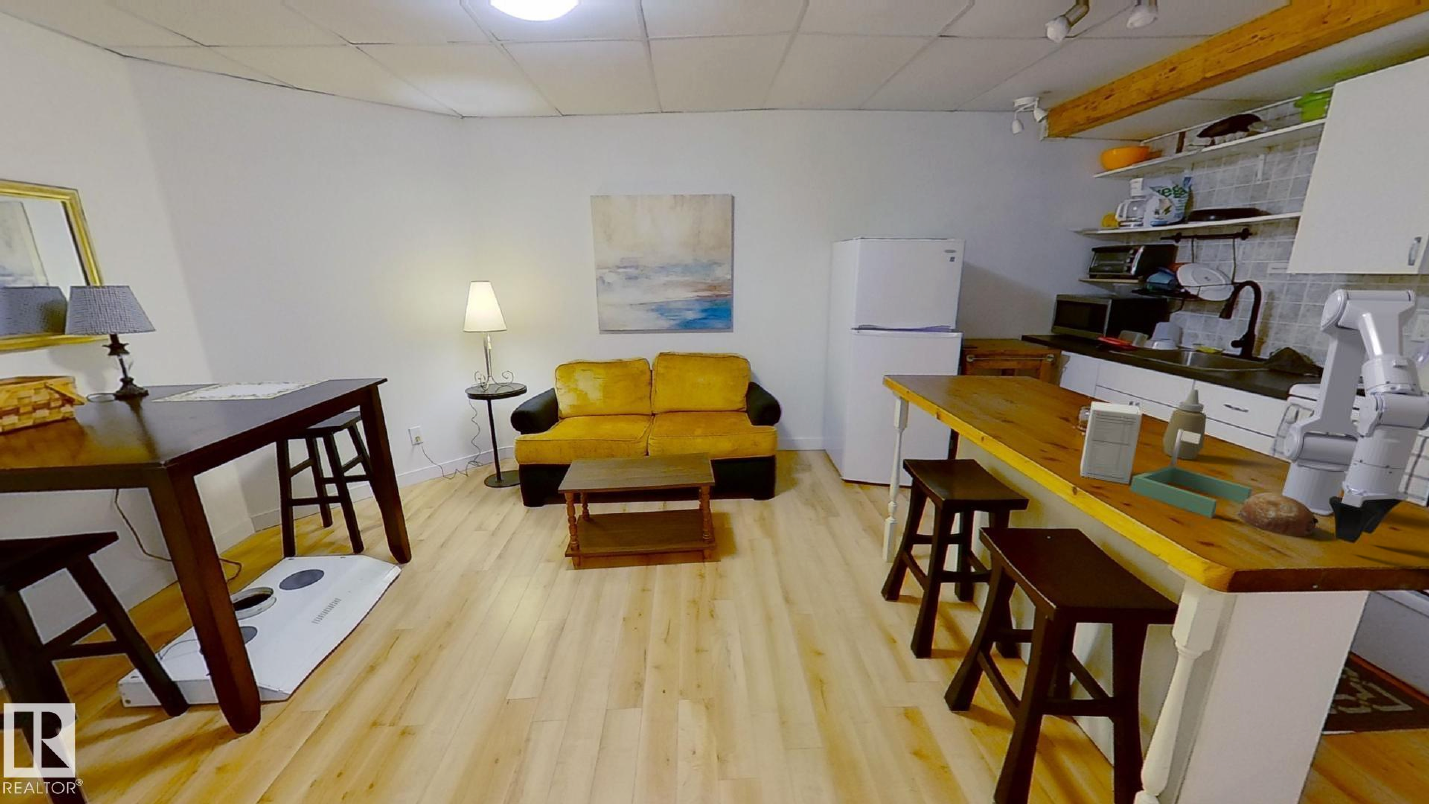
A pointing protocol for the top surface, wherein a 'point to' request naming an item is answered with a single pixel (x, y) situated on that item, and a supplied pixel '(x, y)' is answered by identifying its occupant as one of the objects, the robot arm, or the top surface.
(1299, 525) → the bread roll
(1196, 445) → the squeeze bottle
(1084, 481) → the top surface
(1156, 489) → the teal shallow tray
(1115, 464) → the supplement box
